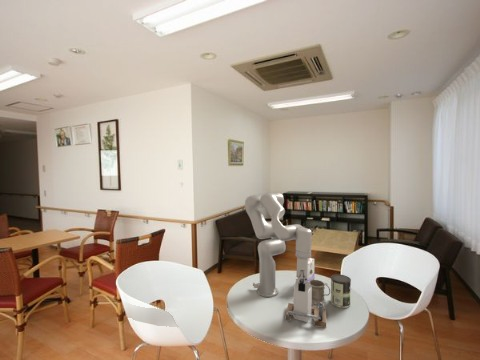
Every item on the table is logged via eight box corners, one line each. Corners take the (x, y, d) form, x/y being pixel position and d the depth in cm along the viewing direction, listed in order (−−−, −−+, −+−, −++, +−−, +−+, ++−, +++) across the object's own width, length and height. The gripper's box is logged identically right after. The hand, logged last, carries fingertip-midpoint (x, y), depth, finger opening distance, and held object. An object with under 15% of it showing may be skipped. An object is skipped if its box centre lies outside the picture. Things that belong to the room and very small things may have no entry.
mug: (303, 298, 146) (304, 277, 146) (316, 293, 151) (316, 274, 151) (323, 310, 134) (323, 288, 133) (336, 305, 139) (336, 283, 138)
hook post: (318, 323, 119) (318, 305, 119) (318, 318, 123) (318, 301, 122) (322, 323, 119) (322, 306, 118) (322, 318, 122) (322, 301, 122)
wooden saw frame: (285, 320, 125) (285, 315, 125) (288, 307, 137) (288, 302, 137) (326, 327, 120) (326, 322, 120) (325, 313, 131) (325, 308, 131)
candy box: (305, 281, 168) (306, 256, 166) (314, 283, 164) (315, 258, 163) (297, 289, 156) (297, 263, 155) (306, 292, 153) (307, 265, 152)
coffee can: (348, 298, 145) (348, 274, 144) (352, 309, 135) (352, 283, 134) (329, 297, 147) (329, 273, 146) (331, 306, 137) (332, 281, 136)
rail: (286, 320, 125) (286, 311, 125) (287, 319, 126) (287, 310, 126) (320, 326, 121) (320, 317, 120) (320, 325, 122) (320, 316, 121)
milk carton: (307, 322, 124) (308, 284, 122) (293, 318, 127) (293, 281, 126) (311, 315, 130) (311, 279, 129) (297, 311, 133) (298, 275, 132)
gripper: (297, 246, 136) (296, 277, 137) (293, 258, 119) (292, 293, 121) (311, 248, 134) (310, 279, 135) (310, 260, 117) (309, 296, 119)
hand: (302, 286), depth 128 cm, fingers open, 9 cm apart
